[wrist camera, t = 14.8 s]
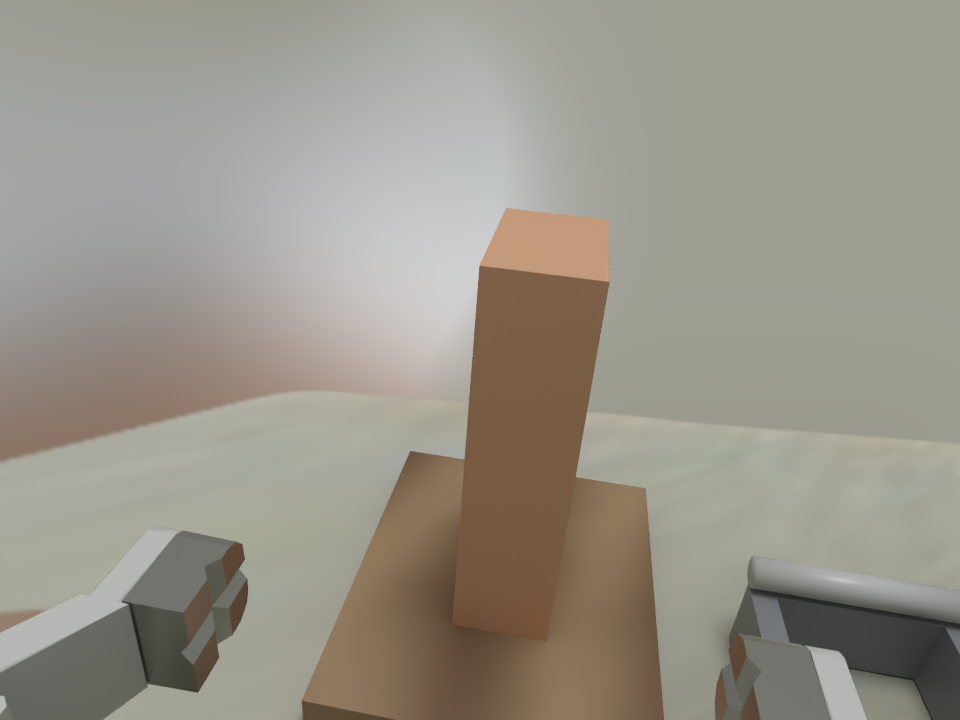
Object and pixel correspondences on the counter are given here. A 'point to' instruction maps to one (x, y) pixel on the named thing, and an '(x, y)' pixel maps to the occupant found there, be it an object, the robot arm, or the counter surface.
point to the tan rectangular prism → (527, 415)
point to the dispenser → (861, 623)
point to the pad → (484, 654)
